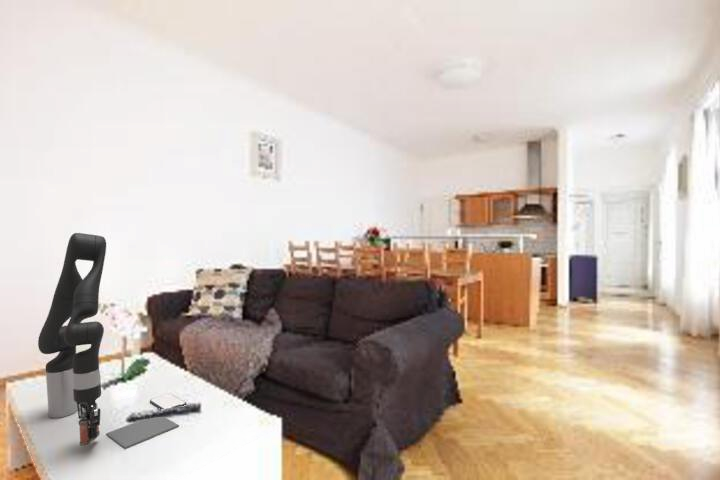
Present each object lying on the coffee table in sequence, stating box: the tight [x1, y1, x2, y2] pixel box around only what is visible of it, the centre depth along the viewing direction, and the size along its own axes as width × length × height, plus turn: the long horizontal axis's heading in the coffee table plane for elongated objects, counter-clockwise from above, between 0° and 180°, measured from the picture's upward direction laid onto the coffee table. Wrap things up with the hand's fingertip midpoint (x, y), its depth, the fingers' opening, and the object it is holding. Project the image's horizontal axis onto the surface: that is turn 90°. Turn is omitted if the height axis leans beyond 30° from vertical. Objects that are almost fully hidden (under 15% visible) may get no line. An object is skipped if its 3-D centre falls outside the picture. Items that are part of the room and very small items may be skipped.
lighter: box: [78, 413, 100, 447], centre depth 137 cm, size 8×3×10 cm, turn 3°
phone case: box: [149, 393, 188, 409], centre depth 168 cm, size 9×2×16 cm
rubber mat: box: [105, 416, 180, 450], centre depth 147 cm, size 15×18×1 cm
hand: (89, 435), depth 137 cm, fingers closed on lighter, 5 cm apart
